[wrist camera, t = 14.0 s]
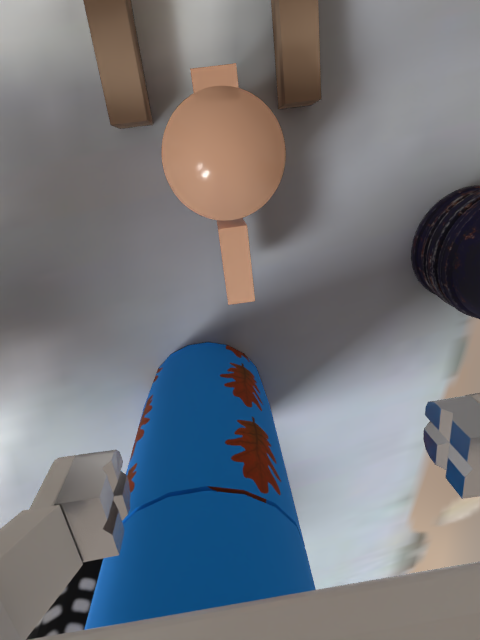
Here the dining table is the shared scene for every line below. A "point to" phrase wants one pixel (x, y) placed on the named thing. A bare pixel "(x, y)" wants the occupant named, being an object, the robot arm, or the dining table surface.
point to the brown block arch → (127, 72)
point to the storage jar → (451, 250)
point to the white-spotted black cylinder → (71, 604)
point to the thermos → (203, 497)
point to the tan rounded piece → (224, 163)
